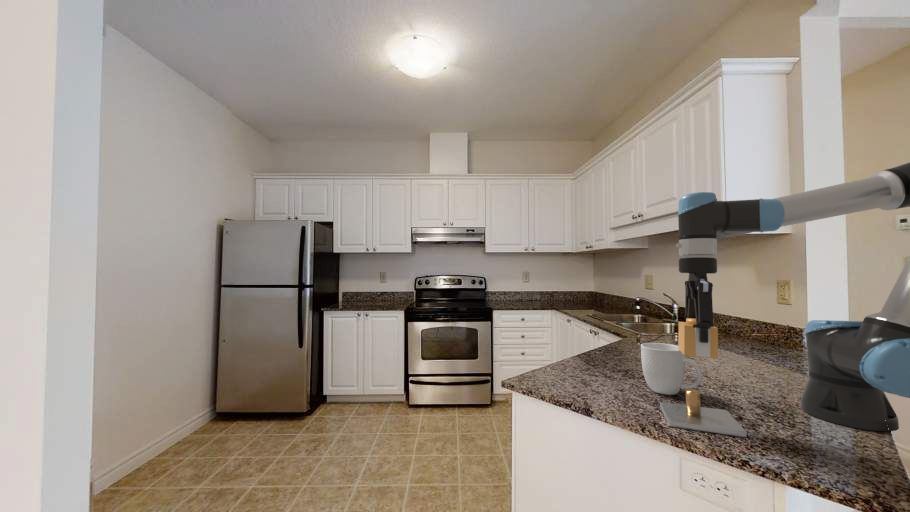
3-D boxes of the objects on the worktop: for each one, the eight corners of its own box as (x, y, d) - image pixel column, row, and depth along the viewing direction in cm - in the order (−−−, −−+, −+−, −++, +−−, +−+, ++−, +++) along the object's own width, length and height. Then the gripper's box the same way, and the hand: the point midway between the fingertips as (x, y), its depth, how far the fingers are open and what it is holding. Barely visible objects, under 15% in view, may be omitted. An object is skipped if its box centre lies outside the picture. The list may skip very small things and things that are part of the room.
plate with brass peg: (726, 414, 81) (724, 387, 82) (746, 437, 70) (745, 405, 71) (660, 406, 87) (659, 380, 87) (669, 426, 76) (668, 396, 76)
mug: (706, 394, 95) (704, 348, 96) (698, 405, 87) (696, 355, 88) (648, 382, 106) (647, 341, 106) (637, 391, 98) (635, 346, 99)
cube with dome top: (709, 352, 82) (709, 319, 82) (717, 358, 76) (717, 322, 76) (678, 349, 84) (678, 316, 84) (684, 355, 78) (684, 320, 78)
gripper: (671, 258, 91) (671, 343, 90) (688, 255, 73) (689, 360, 72) (704, 258, 88) (705, 346, 87) (731, 255, 70) (732, 365, 69)
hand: (698, 352), depth 80 cm, fingers closed on cube with dome top, 6 cm apart
